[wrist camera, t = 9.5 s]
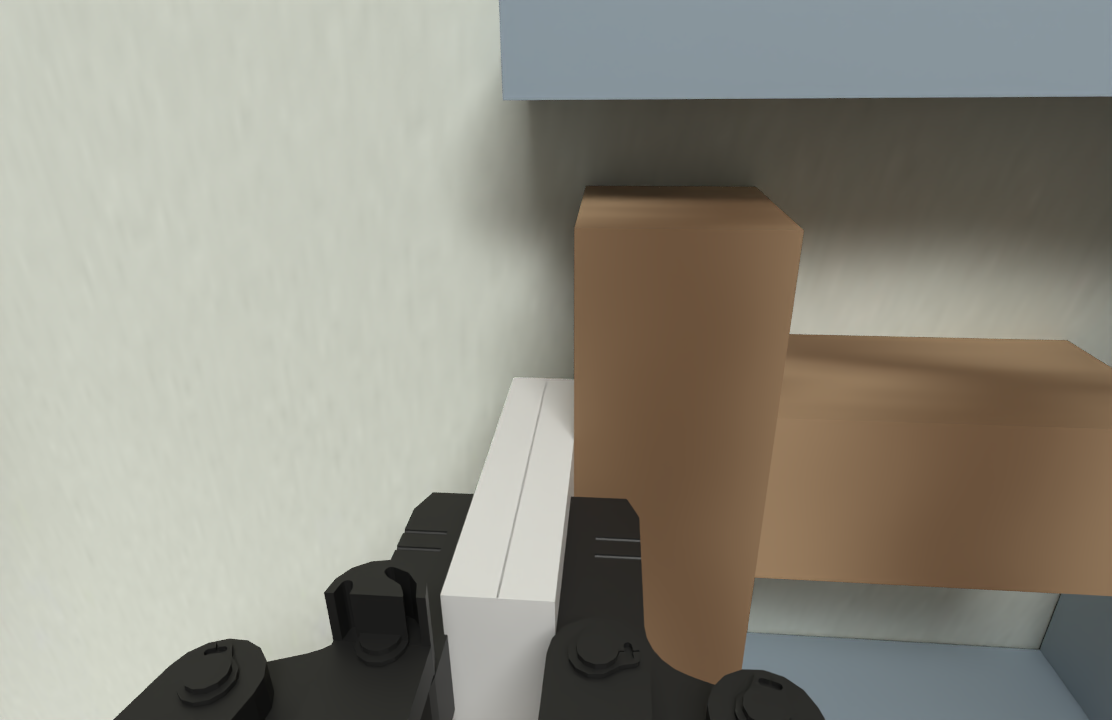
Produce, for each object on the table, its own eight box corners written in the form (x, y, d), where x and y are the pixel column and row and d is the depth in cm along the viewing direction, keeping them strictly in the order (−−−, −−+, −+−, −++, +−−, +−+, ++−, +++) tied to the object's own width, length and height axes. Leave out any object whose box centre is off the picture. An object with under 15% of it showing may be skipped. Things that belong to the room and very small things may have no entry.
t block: (582, 561, 18) (573, 685, 14) (586, 185, 14) (574, 228, 10) (988, 581, 17) (1086, 719, 14) (1115, 187, 13) (1305, 235, 10)
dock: (541, 658, 20) (528, 754, 17) (524, 8, 13) (498, -7, 10) (1081, 693, 18) (1162, 803, 16) (1386, -8, 12) (1625, -29, 9)
